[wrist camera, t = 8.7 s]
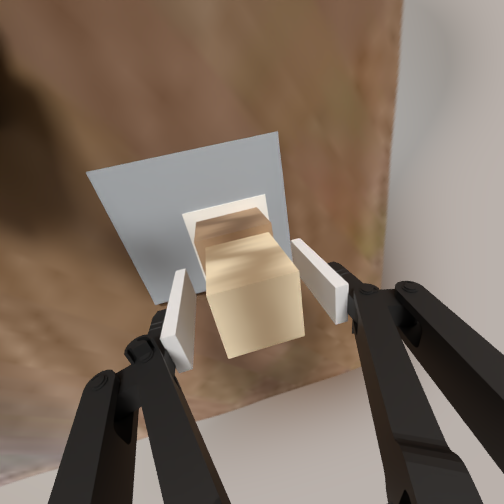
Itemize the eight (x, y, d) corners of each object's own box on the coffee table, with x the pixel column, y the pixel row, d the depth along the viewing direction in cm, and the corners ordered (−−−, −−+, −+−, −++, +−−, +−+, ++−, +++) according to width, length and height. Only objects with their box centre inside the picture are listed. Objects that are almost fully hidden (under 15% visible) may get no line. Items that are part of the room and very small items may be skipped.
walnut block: (213, 274, 23) (215, 303, 19) (195, 222, 20) (193, 242, 16) (266, 259, 23) (280, 285, 19) (256, 207, 21) (271, 222, 16)
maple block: (221, 298, 18) (228, 358, 13) (205, 247, 16) (206, 295, 11) (276, 283, 19) (304, 335, 14) (268, 232, 17) (299, 270, 11)
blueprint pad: (156, 300, 24) (155, 306, 23) (90, 171, 18) (84, 172, 17) (290, 263, 26) (293, 267, 25) (274, 132, 19) (278, 131, 18)
